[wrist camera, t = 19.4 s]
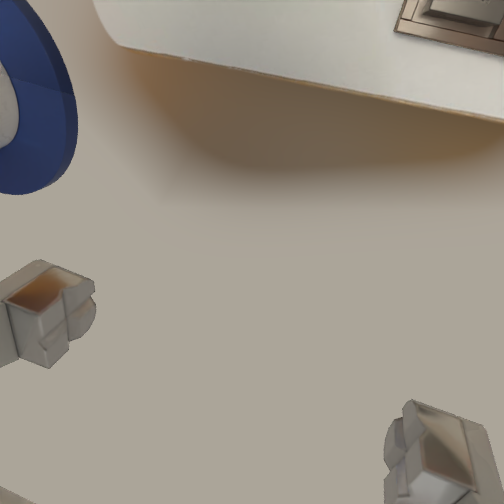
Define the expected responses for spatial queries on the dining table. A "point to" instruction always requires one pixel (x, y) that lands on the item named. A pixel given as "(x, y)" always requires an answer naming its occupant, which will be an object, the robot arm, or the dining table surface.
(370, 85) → the dining table surface
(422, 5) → the brown compartment tray
